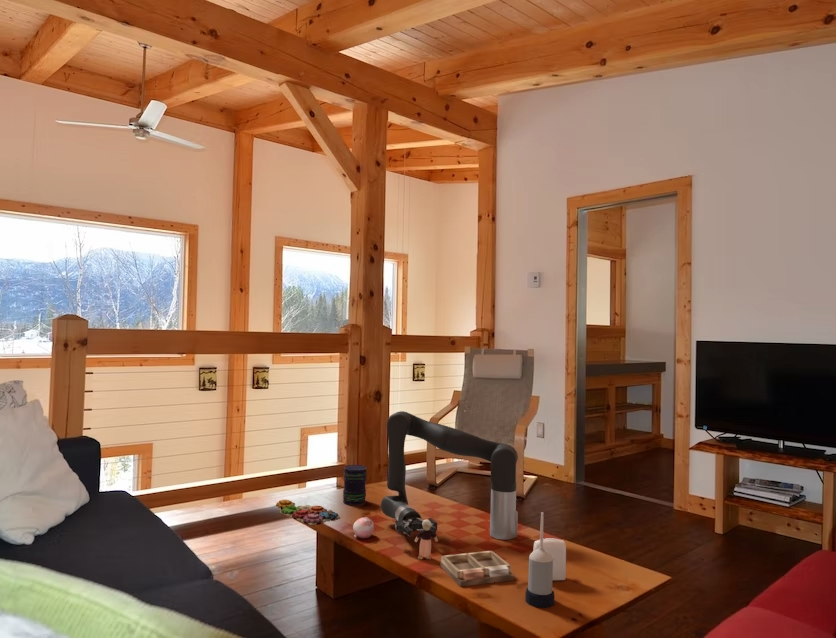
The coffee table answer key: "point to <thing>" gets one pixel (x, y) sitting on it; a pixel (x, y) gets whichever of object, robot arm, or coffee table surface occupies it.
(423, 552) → the grandmother figurine
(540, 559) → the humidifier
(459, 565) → the wooden divided tray
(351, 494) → the storage jar
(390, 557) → the coffee table surface
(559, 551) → the photo printer
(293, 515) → the gear puzzle
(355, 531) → the onion
